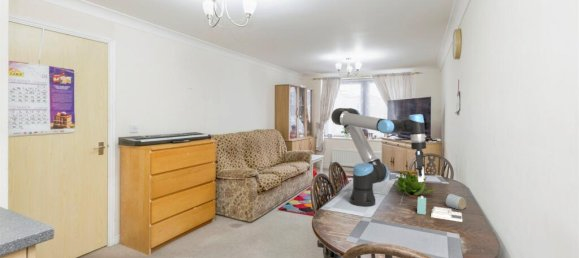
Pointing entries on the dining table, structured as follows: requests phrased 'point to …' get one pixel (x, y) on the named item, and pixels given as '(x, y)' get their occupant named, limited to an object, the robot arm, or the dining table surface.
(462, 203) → the ceramic mug
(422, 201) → the block
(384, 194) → the dining table surface
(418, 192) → the potted flower
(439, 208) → the outlet plate
